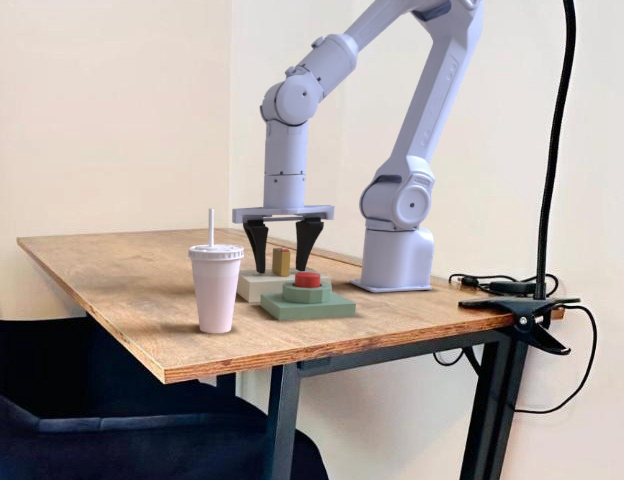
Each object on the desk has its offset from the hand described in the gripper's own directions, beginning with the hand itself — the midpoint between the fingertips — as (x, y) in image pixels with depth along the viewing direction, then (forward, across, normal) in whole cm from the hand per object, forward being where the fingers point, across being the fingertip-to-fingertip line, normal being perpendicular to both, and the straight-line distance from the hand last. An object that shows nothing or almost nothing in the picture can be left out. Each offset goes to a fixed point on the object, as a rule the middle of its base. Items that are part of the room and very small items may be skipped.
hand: (280, 271), depth 82 cm
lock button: (0, 0, -10) cm, 11 cm away
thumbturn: (0, 0, 0) cm, 0 cm away
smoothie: (+4, -14, -16) cm, 22 cm away
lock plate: (+3, 0, 0) cm, 3 cm away
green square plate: (+3, 0, -10) cm, 11 cm away
